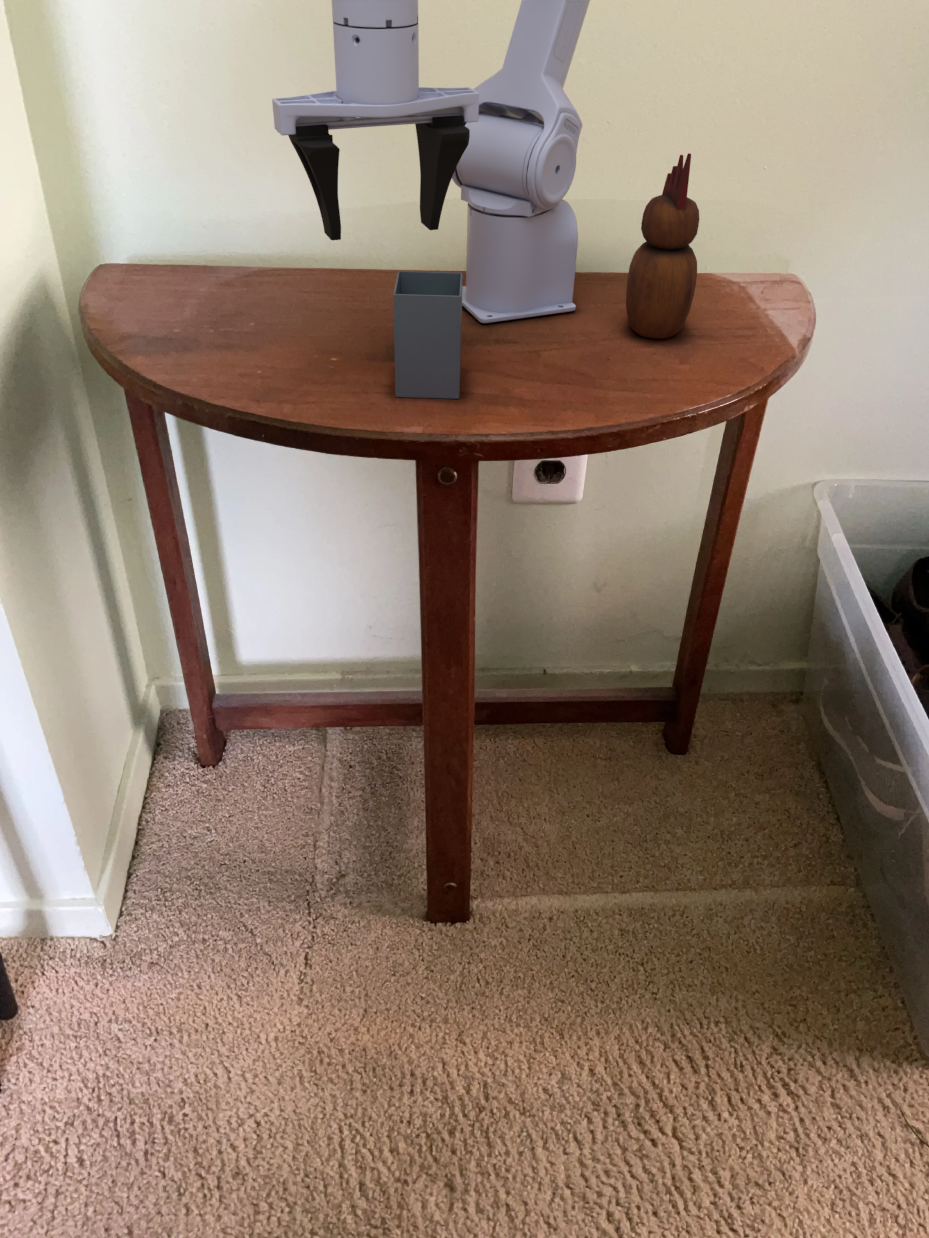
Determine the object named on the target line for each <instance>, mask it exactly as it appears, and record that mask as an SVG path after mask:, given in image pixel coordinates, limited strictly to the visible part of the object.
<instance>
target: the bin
mask: <svg viewBox="0 0 929 1238" xmlns="http://www.w3.org/2000/svg"><path fill="white" fill-rule="evenodd" d="M463 276H464V273H463V272H456V271H455V272H453V271H452V272H450V271H422V270H421V271H417V270H397V274H396V279H395V284H394V288H393V293H392V301H393V302H392V303H393V304H392V305H393V306H392V309H393V346H394V347H393V351H394V386H395V387H394V393H395V395H394V397H395V398H412V399H413V398H414V399H415V398H417V399H423V398H424V399H447V400H449V399H450V400H451V399H453V400H459V399H460V393H461V392H460V390H461V388H460V387H461V372H462V371H461V368H462V367H461V365H462V323H463V305H462V287H463Z"/></svg>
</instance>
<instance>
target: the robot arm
mask: <svg viewBox="0 0 929 1238" xmlns="http://www.w3.org/2000/svg"><path fill="white" fill-rule="evenodd" d="M590 1H591V0H521V2H520V4H519V5H520V6H519V9H518V12H517V15H516V19H515V22H514V26H513V29H512V32H511V36H510V40H509V43H508V46H507V50H506V54H505V57H504V62H503V64H502V67H501V69H500V70H498V71H497V72H495V73H494V74H493V75H491V76H489V77H488V78H487V79H485V80H484V81H482V82H481V83H480V84H478V85H477V86H475V87H474V88H471V87H466V86H465V87H426V86H425V87H421V86H420V69H419V68H420V64H419V63H420V62H419V61H420V58H419V54H420V53H419V52H420V51H419V49H420V48H419V45H420V44H419V42H420V41H419V0H331V13H332V14H331V15H332V16H331V17H332V33H333V52H334V53H333V55H334V71H335V90H331V91H325V92H317V93H310V94H303V95H296V96H289V97H277V98H276V97H275V98H272V99H271V102H272V112H273V125H274V130H276V133H278V134H279V135H280V136H288V138H289V141H290V143H291V144H292V147H293V148H294V150H295V152H296V154H297V156H298V158H299V160H300V163H301V164H302V167H303V169H304V171H305V173H306V175H307V178H308V180H309V183H310V185H311V188H312V189H313V190H312V191H313V193H314V196H315V199H316V202H317V206H318V210H319V212H320V217H321V221H322V225H323V231H324V234H325V235H326V236H327V237H328V238H329V240H330V241H341V240H342V224H341V212H340V204H339V165H340V164H339V161H340V150H341V149H340V148H339V147H338V146H337V145H336V144H335V143H334V140H333V139H334V138H333V134H330V132H329V130H343V129H360V128H375V127H387V126H403V125H415V133H416V140H417V148H418V149H417V150H418V157H419V159H418V161H419V172H420V174H419V175H420V177H419V178H420V181H419V182H420V183H419V184H420V185H419V213H420V215H419V216H420V223H421V224H422V225H423V226H424V227H425V228H427V229H428V230H429V231H437V230H439V226H440V222H441V221H440V220H441V217H442V212H443V207H444V203H445V200H446V196H447V193H448V190H449V186H450V184H451V182H452V181H453V183H454V184H455V185H456V186H457V187H458V188H460V200H461V201H464V202H466V203H467V215H466V216H467V217H466V219H467V220H466V224H467V225H466V227H467V228H466V258H465V261H466V262H465V263H466V264H465V285H462V307H463V308H464V309H465V310H466V311H467V312H468V313H470V314H471V315H472V316H473V317H474V318H475V319H476V320H477V321H478V322H479V323H480V324H491V323H497V322H504V321H505V322H506V321H512V320H520V319H526V318H527V319H528V318H533V317H541V316H547V315H548V316H549V315H555V314H562V313H571V312H574V311H576V309H577V305H576V304H575V303H574V302H573V297H574V289H575V277H576V266H577V257H578V256H577V255H578V245H579V232H578V231H579V229H578V222H577V218H576V215H575V211H574V209H573V208H572V206H571V204H570V203H569V202H568V201H566V200H565V199H564V197H566V194H567V193H568V192H569V190H570V188H571V185H572V183H573V181H574V177H575V174H576V168H577V151H578V145H579V140H580V137H581V136H580V135H581V131H582V128H583V122H582V120H581V118H580V115H579V113H578V111H577V109H576V107H575V106H574V105H573V103H572V102H571V100H570V98H569V97H568V95H567V93H566V92H565V90H564V86H565V85H566V84H565V83H566V81H567V78H568V74H569V71H570V67H571V64H572V61H573V58H574V54H575V51H576V47H577V44H578V41H579V37H580V35H581V31H582V28H583V25H584V21H585V18H586V15H587V12H588V9H589V6H590V3H591V2H590Z"/></svg>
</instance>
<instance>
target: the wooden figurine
mask: <svg viewBox="0 0 929 1238" xmlns="http://www.w3.org/2000/svg"><path fill="white" fill-rule="evenodd" d="M691 162H692V153H687V155H686V158H685V161H684V155H683V154H680V155H679V157H678V161H677V165H673V166H672V169H671V172H669V173H667V174H666V178H665V182H664V186H663V189H662V193H661V194H660V195H656V196H654V197H652V198H651V199H650V200H649V201H648V203H647V204H646V205H645V208H644V211H643V214H642V218H641V227H640V230H641V234H642V237H643V239H644V240H645V241H644V242H643V243H642V244H640V245H639V247H638V248H637V249H636V250H635V252H634V254H633V255H632V258H631V261H630V264H629V268H628V274H627V280H626V288H625V309H626V317H627V321H628V325H629V327H630V328H631V329H632V331H633V332H634V333H636V334H637V335H639V336H640V337H645V338H649V339H655V340H661V339H667V338H671V337H673V336H675V335H676V334H677V333H679V332H680V331H681V330H682V328H683V326H684V325H685V323H686V322H687V318H688V316H689V313H690V312H691V308H692V305H693V304H692V303H693V301H694V296H695V291H696V285H697V279H698V260H697V257H696V255H695V252H694V249H693V248H692V247H691V246H690V245H691V243H692V242H693V241H694V240H695V238H696V237H697V235H698V230H699V225H700V209H699V207H698V204H697V203H696V201H695V200H693V199H691V198H690V197H688V190H689V181H690V172H691Z"/></svg>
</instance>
